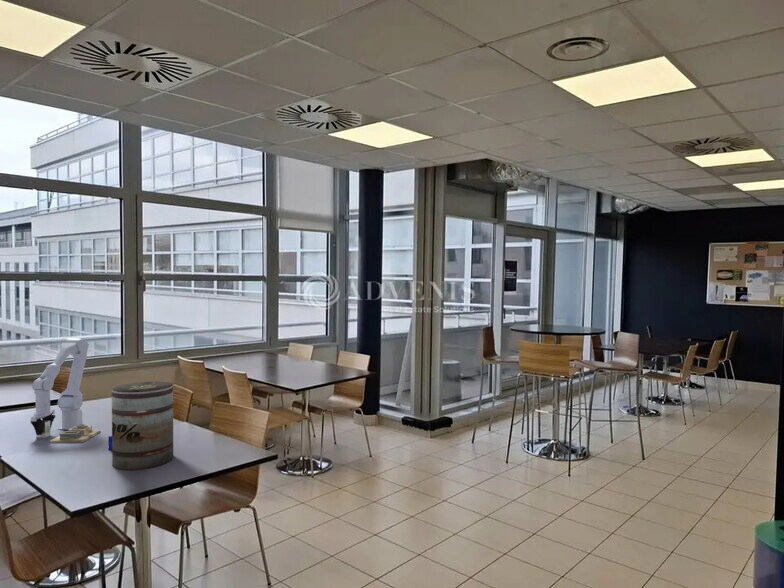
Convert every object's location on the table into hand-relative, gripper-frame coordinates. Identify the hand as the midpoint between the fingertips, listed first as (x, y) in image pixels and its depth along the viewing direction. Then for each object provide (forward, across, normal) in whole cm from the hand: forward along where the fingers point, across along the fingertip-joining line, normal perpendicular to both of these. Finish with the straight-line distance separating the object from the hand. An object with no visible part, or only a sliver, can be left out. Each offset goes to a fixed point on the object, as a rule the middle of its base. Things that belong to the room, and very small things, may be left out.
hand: (43, 433), depth 250 cm
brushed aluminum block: (+2, 0, 0) cm, 2 cm away
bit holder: (+2, +2, +16) cm, 16 cm away
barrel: (+2, +35, +61) cm, 70 cm away
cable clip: (+2, +15, +43) cm, 45 cm away
